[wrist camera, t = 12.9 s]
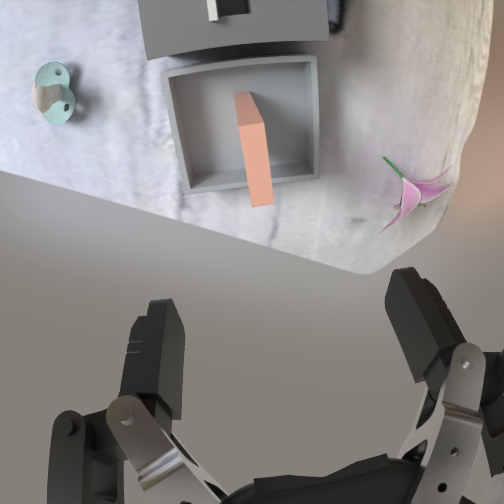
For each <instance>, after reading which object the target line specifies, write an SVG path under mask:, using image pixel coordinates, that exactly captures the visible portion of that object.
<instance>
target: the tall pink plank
mask: <svg viewBox="0 0 504 504" xmlns="http://www.w3.org/2000/svg"><path fill="white" fill-rule="evenodd" d="M233 95H234V102H235V108H236V115H237V121H238V127H239V133H240V139H241V145H242V151H243V157H244V163H245V169H246V175H247V181H248V187H249V193H250V199H251V205H252V207H257V206H263V205H269V204H274V197H273V189H272V181H271V173H270V165H269V157H268V149H267V141H266V134H265V126H264V122H263V120H262V117H261V115H260V113H259V111H258V109H257V107H256V105H255V102H254V100H253V98H252V96H251V94H250V92H249V91H245V92H238V93H233Z"/></svg>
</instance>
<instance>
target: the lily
mask: <svg viewBox="0 0 504 504" xmlns="http://www.w3.org/2000/svg"><path fill="white" fill-rule="evenodd" d="M383 159H384V160H385V161H386V162H387V163H388V164H389V165H390V166H391V167H392V168H393V169H394V170H395V171H396V172H397V173H398V174H399V175H400V177H401V178H402V179H403V191H402V197H401V202H400V203H399V204H397V205H395V206H394V207H393V208H394V209H396V210H397V209H398V208H399V207H400V205H401V203H402V207H401V209H400V211H399V212H398V214H397V216H396V217H395V218H394V219H393V220H392V221H391V222H390V223H389V224H388V225H387V226H386V227H385V228H384V229H383V230H381V231H380V232H379V233H378V234H380V233H382V232H384V231H386V230H387V229H389V228H390V227H392V226H393V225H395V224H396V223H397V222H398V221H399V220H400V219H402V218H404V217H405V216H407V215H408V214H409V213H410V212H411V211H412V210H413V209H414V208H415V207H416V206H417V205H418V206H419V203H422V205H423V204H424V203H425V202H429V201H431V200H433V199H435V198H437V197H438V196H440V195H441V194H443V193H444V192H445V191H447V190H448V189H449V188H450V187H451V186H452V185H453V184H442V183H436V182H437V181H439V180H440V179H441V178H443V177H444V175H445V174H446V173H447V172H448V171H449V170H450V168H451V167H452V165H451V166H450V167H449V168H448V169H447V170H445V171H444V172H443V173H442V174H440V175H439V176H438V177H436V178H434V179H432V180H429V181H408V180H406V179H405V178H404V176H403V175H402V174H401V173H400V172H399V171H398V170H397V169H396V168H395V167H394V166H393V165H392V164H391V163H390V162H389V161H388V160H387V159H386V158H385V157H383ZM424 205H425V204H424ZM424 205H423V206H424ZM420 206H421V204H420ZM425 206H426V205H425ZM425 206H424V207H425ZM378 234H377V235H378Z"/></svg>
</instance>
